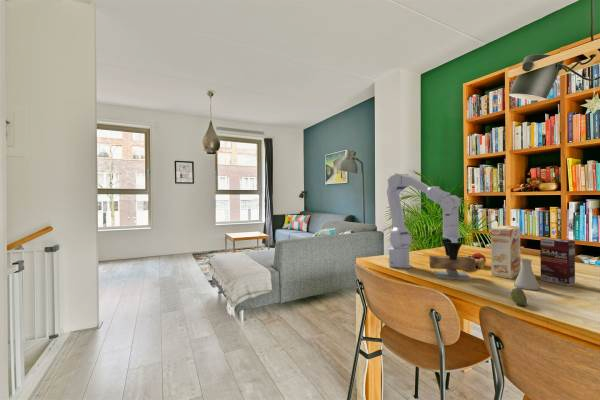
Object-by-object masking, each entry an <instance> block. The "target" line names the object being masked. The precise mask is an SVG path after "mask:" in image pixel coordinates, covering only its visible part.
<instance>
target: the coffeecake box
mask: <svg viewBox="0 0 600 400" xmlns="http://www.w3.org/2000/svg"><path fill="white" fill-rule="evenodd" d="M490 252H491V253H490V255H491V256H490V259H491V260H490V261H491V263H490V264H491V266H490V267H491V276H492V277H493V276H494V277H499V278H504V279H509V280H510V279H511V280H512V279H513V278H515V277H516V276H518V274H519V272H520V269H521V260H520V259H521V226H517V225H500V226H495V227H491V228H490Z"/></svg>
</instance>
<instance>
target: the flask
mask: <svg viewBox="0 0 600 400" xmlns="http://www.w3.org/2000/svg"><path fill="white" fill-rule="evenodd" d="M532 261H533V259H531V258H521V257H520V262H521V269H520V272H519V274H517V277H516V279H515V282H514V284H513V286H515V288H521V289H522V290H523V289H524V290H531V291H539V290H540V288H541V287H540V285H539V282H538V281H537V278H536V276H535V273H534V272H533V268H532Z"/></svg>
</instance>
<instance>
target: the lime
mask: <svg viewBox="0 0 600 400" xmlns="http://www.w3.org/2000/svg"><path fill="white" fill-rule="evenodd" d="M510 298H511V300H512V301H513V302H514V303H515V304H517V305H519V306H521V307H526V306H527V304H528V302H527V301H528V300H527V297H526V293H525V291H524V290H523V288H518V287H515V288H513V289H512V291H511V293H510Z"/></svg>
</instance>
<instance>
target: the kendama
mask: <svg viewBox="0 0 600 400" xmlns="http://www.w3.org/2000/svg"><path fill="white" fill-rule="evenodd" d="M465 257H473V258H474V259H475V267H476V266H477V268H478V269H483V268H484V267H485V265H486V262H487V258H486V256H485V255H484V254H482V253H480V252H476V253H473V254H472V255H470V254H467V255H466V256H465ZM468 271H469V270H462V272H468Z"/></svg>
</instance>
